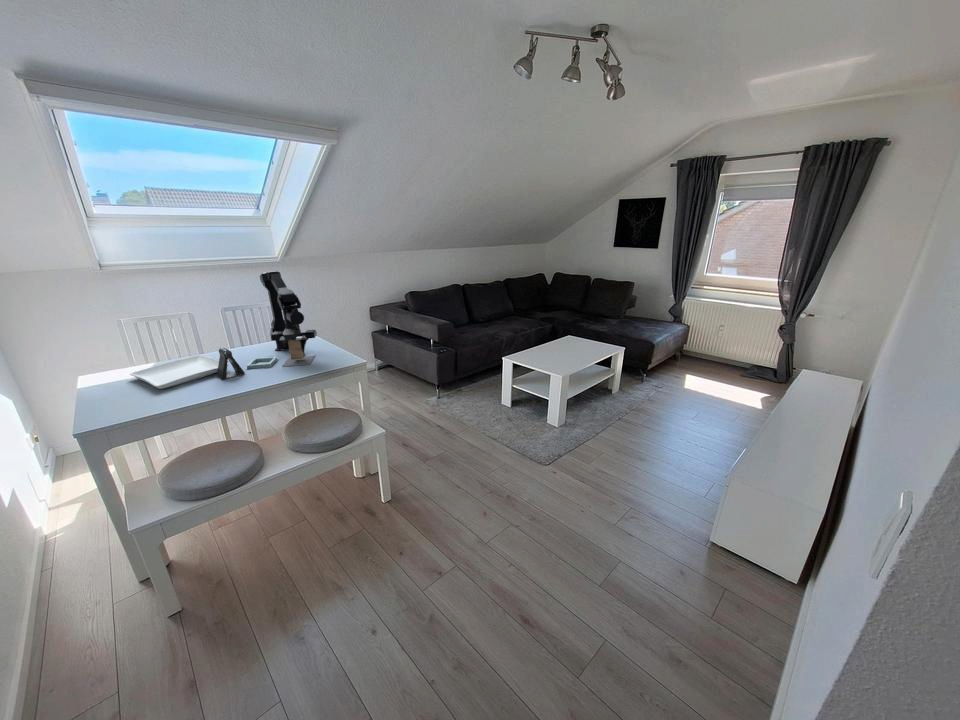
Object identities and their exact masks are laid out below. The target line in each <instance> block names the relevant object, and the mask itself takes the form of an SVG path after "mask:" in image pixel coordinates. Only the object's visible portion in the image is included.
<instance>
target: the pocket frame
mask: <svg viewBox="0 0 960 720" xmlns="http://www.w3.org/2000/svg"><path fill="white" fill-rule="evenodd" d="M277 361H278V357H277V356H268V357H267V356H266V357H257V358H256V357H254V358H252V359H251V360H250V362H249V363H248V364H247V365H246V369H247V370H249V369H259V368H260V369H262V368H271V367H272V366H273V365H275V363H276V362H277ZM258 362H267V363H258Z"/></svg>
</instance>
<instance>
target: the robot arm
mask: <svg viewBox="0 0 960 720" xmlns="http://www.w3.org/2000/svg"><path fill="white" fill-rule="evenodd" d="M259 280H260V282H261V285H262V286H263V287H264V288H265V289H266V291H267V294H268V299H269V304H270V309H271V314H272V318H273V319H272V321H271V323H270V330H269V331H270V333H269V334H270V340H271V341H272V342H274V341H275V345H276V348H275V349H274V351H285V350H287V351H289V352H290V350H289V345H288V341H289V340H295V339H296V338H302V339H301V342H302V351H303V352H305V349H306V344H307V341H308V340H310V339H315V338H316V336H318V333H317V330H316V329H306V331H302V330H301V327H300V325H301V324H302V323H304V322H305V315H304V314H303V313H302V312H301V311H299V309H301V308H302V307H301V306H302V303H301V301H300V299H299V297H298V295H297V294H295V292H294V291H293V290H292V289H290V288H288V286H287V285H286V283H285V281H284V279H283V278H282V275H281V272H280V270H279V271H278V270H270V271H267V272H262V273H261V274H259Z"/></svg>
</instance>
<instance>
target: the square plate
mask: <svg viewBox="0 0 960 720" xmlns="http://www.w3.org/2000/svg"><path fill="white" fill-rule="evenodd" d="M218 365H219V359H215V358H212V357H210V356H206V355H203V354H197V355H194V356H189V357H185V358H182V359H177V360H173V361H170V362H169V361H168V362H165V363H162V364H158V365H154V366H150V367H147V368H144V369H140V370H137V371H134V372H130V373H129V375H131V376H132V377H134V378H136V379H138V380H141V381H143V382H146V383H148V384H149V385H151V386H153V387H155V388H157V389H160V390H161V389H163V390H164V389H166V388H167V389H168V388H171V387H174V386H179V385H181V384H185V383H187V382H188V383H189V382H191V381H194V380H198V379H200V378H204V377H207V376H210V375H211V376H212V375H213V374H217V371H218ZM229 365H230V364H229V363H227V367H228V366H229Z"/></svg>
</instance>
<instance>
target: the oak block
mask: <svg viewBox="0 0 960 720" xmlns="http://www.w3.org/2000/svg"><path fill="white" fill-rule="evenodd" d="M301 339H302V337H296V339H295V340H289V341H288V345H289V350H290V351H289V350H288V351H289V353H290V357H291V360H293V359H303V358H304V356H306V352H305V351H304V352H303V351H302V342H301Z"/></svg>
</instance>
